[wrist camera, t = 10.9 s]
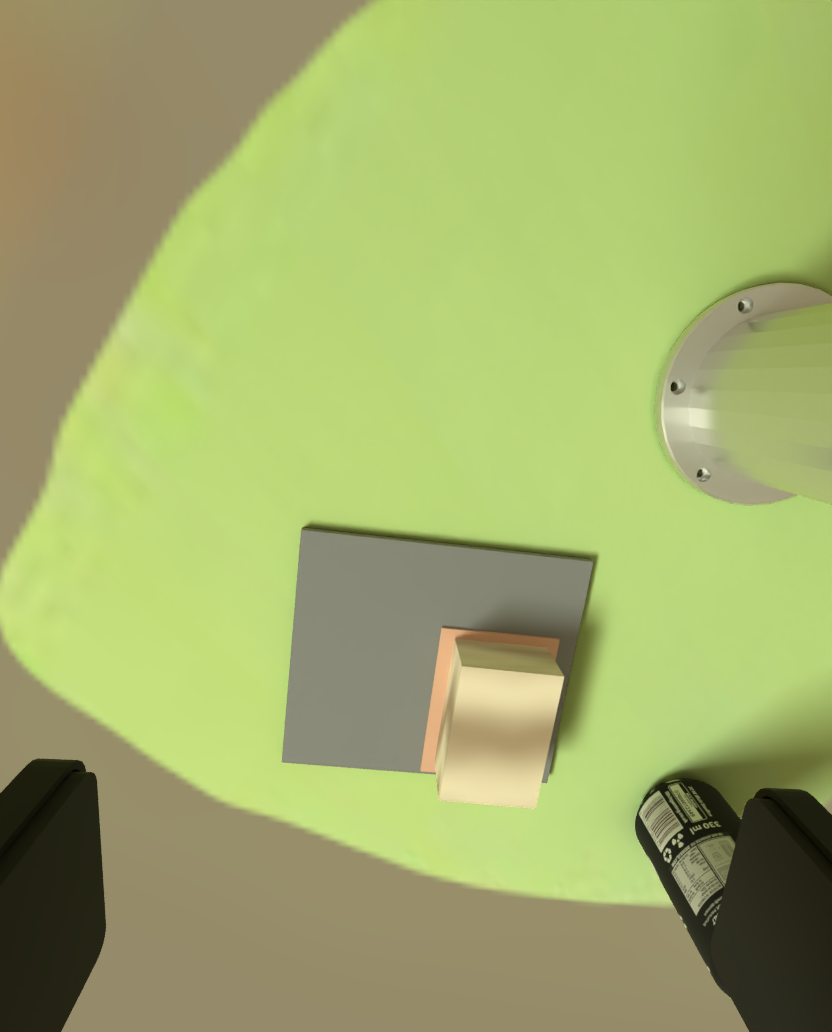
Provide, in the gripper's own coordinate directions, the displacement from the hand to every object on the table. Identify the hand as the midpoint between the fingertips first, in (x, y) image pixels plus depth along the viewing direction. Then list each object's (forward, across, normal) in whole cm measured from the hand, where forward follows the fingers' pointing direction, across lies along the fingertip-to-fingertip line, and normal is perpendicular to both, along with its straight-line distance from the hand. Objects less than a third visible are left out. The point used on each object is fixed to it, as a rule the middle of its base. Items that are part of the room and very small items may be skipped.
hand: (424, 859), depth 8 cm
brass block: (+26, -7, +14) cm, 30 cm away
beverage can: (+27, -21, +22) cm, 41 cm away
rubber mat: (+27, -3, +11) cm, 29 cm away
